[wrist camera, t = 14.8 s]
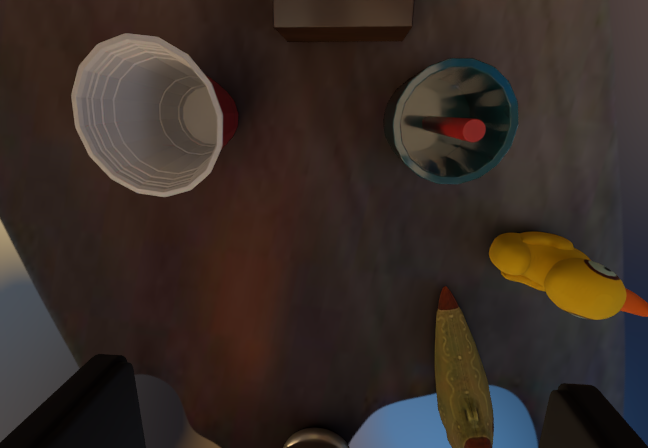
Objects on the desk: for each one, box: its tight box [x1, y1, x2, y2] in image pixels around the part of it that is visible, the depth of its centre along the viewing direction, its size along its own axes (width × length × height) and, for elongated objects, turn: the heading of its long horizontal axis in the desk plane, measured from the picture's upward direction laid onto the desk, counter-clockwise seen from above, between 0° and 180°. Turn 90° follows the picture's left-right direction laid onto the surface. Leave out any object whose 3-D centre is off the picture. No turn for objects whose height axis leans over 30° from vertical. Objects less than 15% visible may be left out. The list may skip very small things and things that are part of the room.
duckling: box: [489, 232, 648, 320], centre depth 33 cm, size 11×5×10 cm, turn 74°
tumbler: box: [383, 58, 518, 184], centre depth 30 cm, size 8×8×10 cm
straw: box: [422, 116, 486, 142], centre depth 28 cm, size 1×1×14 cm
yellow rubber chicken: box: [435, 286, 494, 448], centre depth 37 cm, size 20×5×10 cm, turn 12°
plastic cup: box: [71, 33, 238, 197], centre depth 31 cm, size 11×11×12 cm
